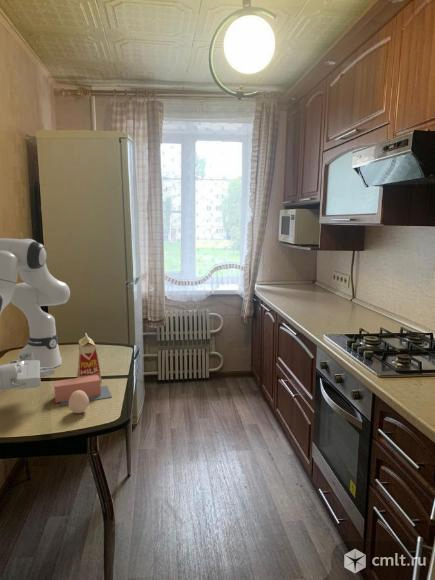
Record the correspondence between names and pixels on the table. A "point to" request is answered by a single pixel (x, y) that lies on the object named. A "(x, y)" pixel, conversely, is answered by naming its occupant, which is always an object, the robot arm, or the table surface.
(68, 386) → the block
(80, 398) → the egg
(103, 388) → the mat
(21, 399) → the table surface
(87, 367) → the milk carton
